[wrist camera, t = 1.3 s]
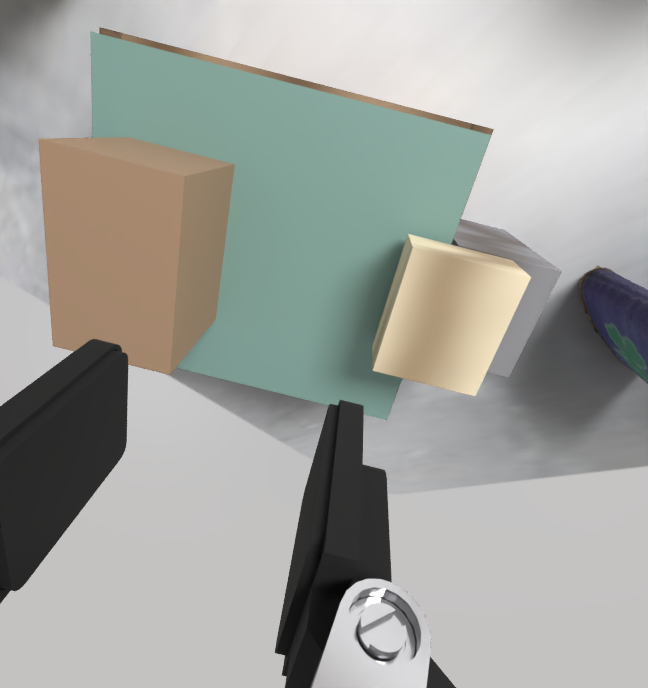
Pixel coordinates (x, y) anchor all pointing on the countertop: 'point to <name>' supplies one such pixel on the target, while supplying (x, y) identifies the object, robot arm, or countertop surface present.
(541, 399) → the countertop surface
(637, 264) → the countertop surface
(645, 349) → the flask
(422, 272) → the pale gold block
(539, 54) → the countertop surface
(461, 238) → the wooden box
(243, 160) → the lid
